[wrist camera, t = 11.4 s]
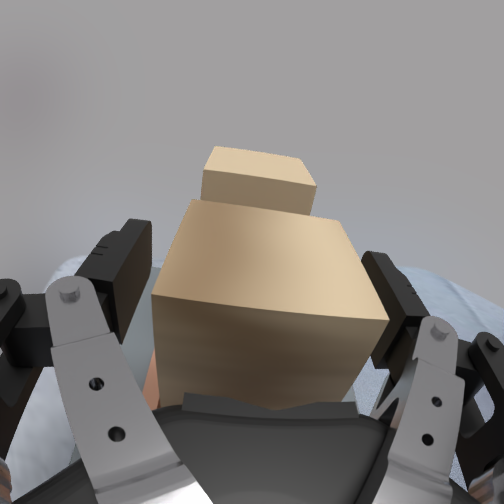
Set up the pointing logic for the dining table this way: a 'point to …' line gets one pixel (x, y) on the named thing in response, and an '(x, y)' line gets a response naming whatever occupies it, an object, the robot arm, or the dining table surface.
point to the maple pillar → (262, 308)
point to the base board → (230, 192)
